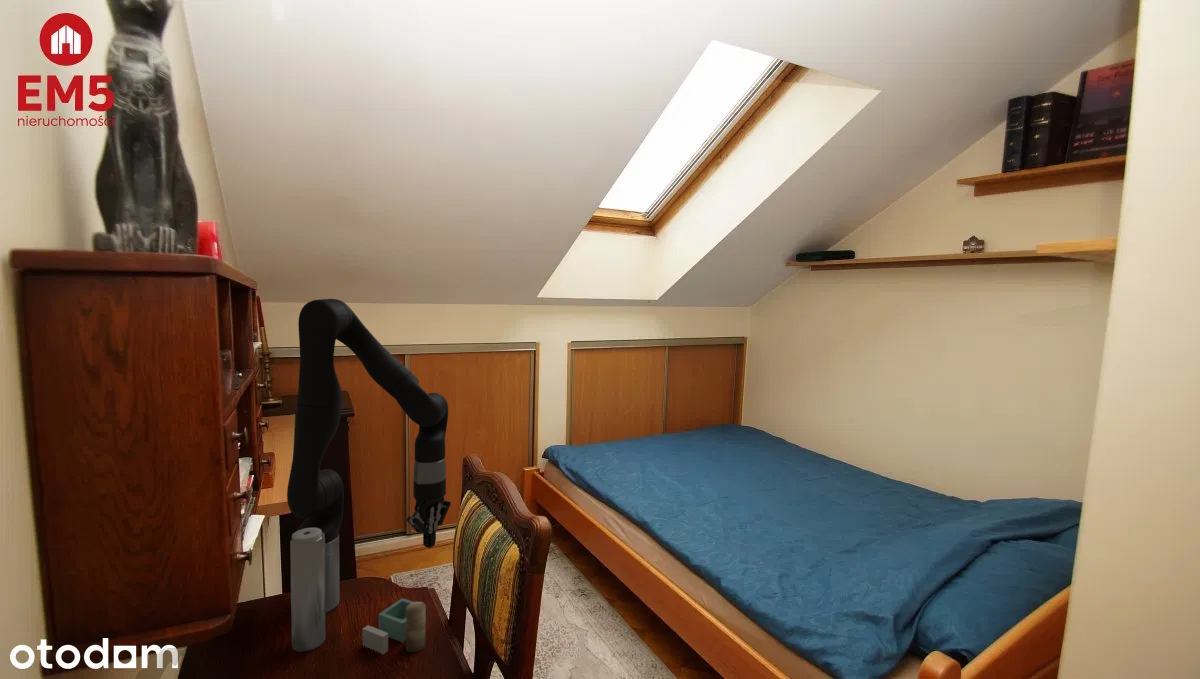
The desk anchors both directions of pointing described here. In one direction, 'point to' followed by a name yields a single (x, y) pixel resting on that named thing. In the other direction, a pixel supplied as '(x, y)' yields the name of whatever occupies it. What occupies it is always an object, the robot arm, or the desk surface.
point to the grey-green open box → (395, 620)
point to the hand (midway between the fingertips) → (429, 546)
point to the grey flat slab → (375, 639)
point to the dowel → (415, 626)
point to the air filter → (307, 589)
